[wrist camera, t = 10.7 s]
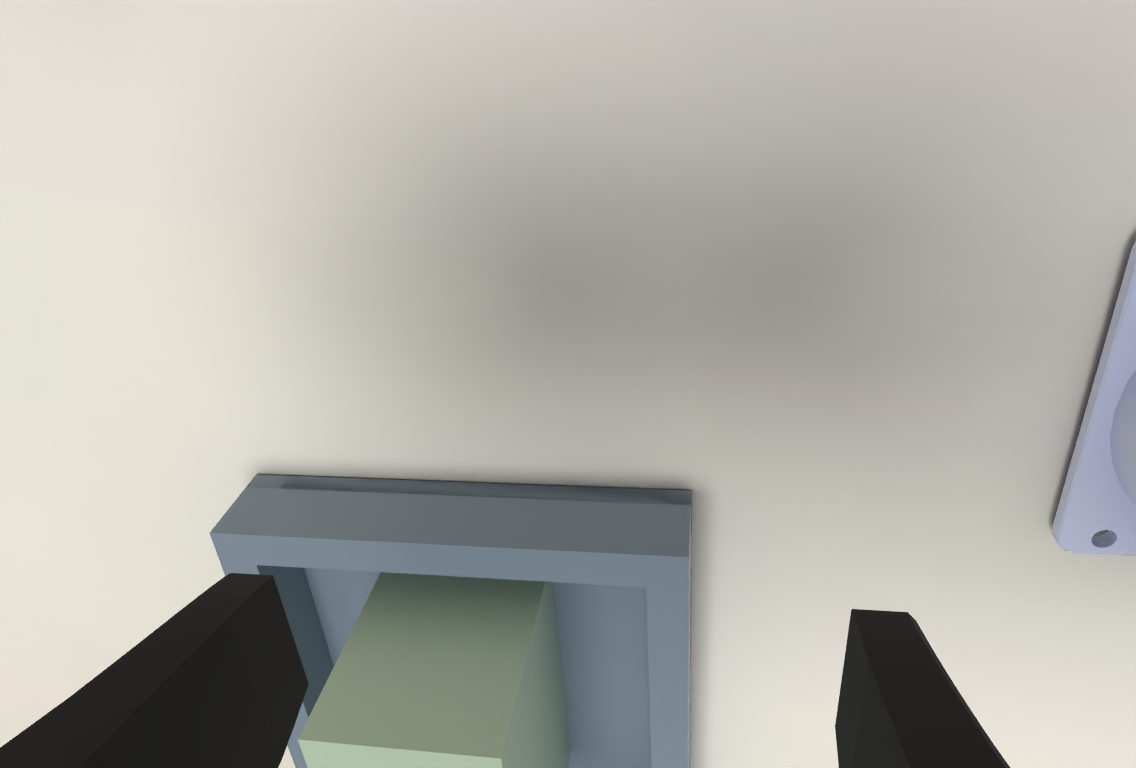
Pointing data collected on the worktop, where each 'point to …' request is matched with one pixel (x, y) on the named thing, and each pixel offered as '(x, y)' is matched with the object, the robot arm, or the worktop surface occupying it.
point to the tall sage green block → (445, 679)
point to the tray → (500, 551)
